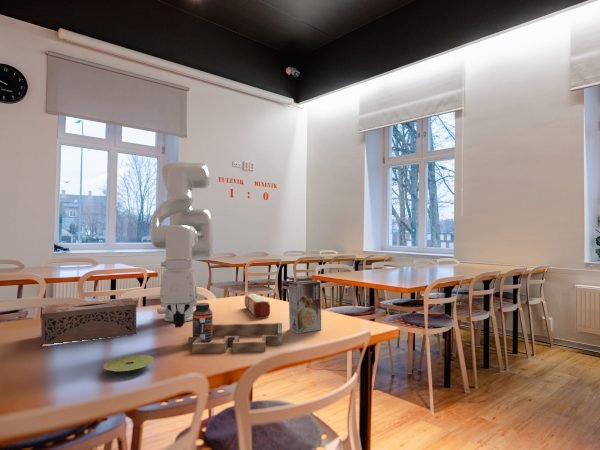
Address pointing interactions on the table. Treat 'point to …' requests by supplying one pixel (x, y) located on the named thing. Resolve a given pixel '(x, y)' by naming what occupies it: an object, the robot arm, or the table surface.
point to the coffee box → (304, 306)
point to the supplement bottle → (203, 322)
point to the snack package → (257, 306)
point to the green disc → (128, 363)
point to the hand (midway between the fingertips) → (179, 326)
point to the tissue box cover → (88, 320)
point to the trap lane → (232, 333)
